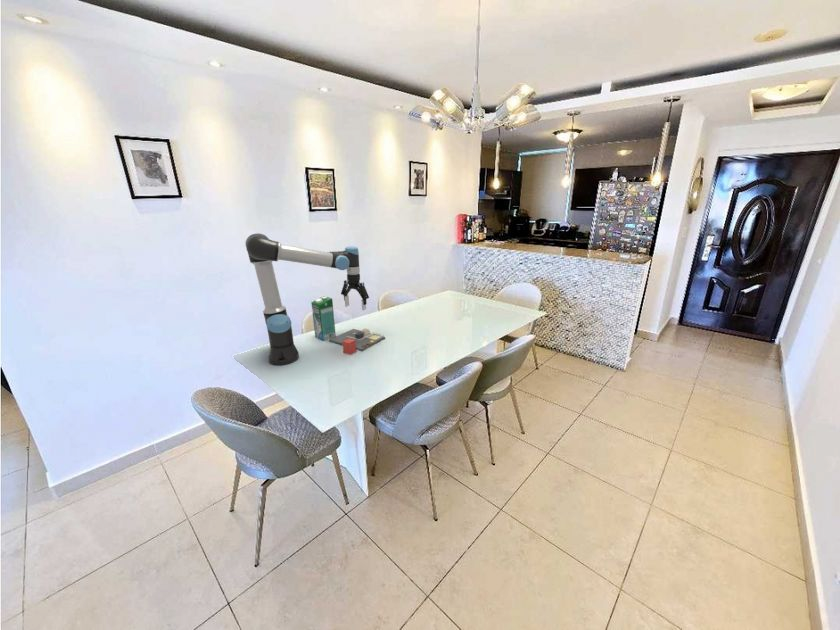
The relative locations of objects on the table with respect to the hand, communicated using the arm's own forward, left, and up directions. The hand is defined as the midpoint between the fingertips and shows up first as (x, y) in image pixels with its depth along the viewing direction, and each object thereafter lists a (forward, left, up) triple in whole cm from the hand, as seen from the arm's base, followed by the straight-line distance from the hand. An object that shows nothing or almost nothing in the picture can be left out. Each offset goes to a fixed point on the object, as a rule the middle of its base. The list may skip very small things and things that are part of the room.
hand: (355, 307), depth 206 cm
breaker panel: (+5, -5, -18) cm, 20 cm away
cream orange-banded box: (+6, +1, -17) cm, 18 cm away
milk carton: (-15, -12, -19) cm, 27 cm away
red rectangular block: (+13, -20, -18) cm, 30 cm away
